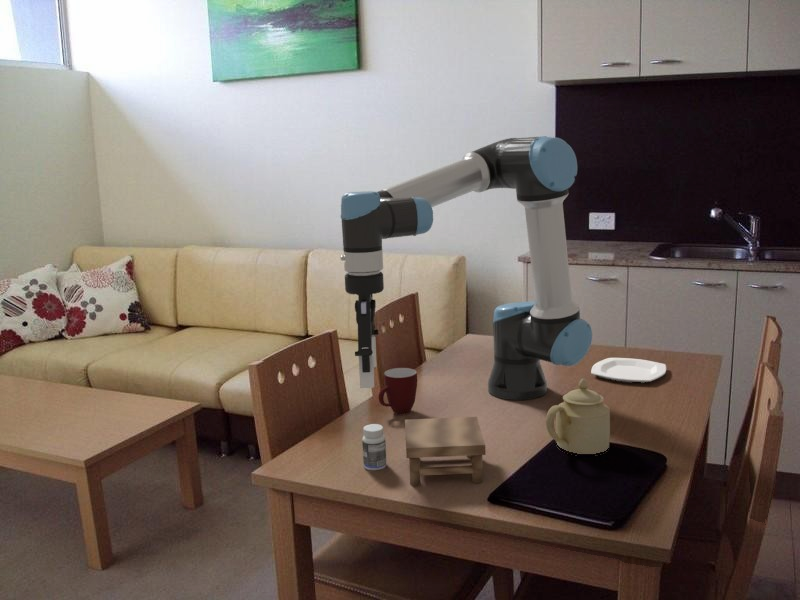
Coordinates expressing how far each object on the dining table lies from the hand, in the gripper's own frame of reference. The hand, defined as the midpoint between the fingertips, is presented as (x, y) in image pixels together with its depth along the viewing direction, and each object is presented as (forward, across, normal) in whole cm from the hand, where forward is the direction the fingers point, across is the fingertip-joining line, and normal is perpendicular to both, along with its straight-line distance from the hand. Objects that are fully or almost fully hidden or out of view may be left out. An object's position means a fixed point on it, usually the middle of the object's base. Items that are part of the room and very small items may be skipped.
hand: (368, 376), depth 153 cm
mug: (+19, -30, +5) cm, 36 cm away
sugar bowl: (+19, -4, +43) cm, 48 cm away
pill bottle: (+19, 0, 0) cm, 19 cm away
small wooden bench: (+19, +3, +14) cm, 24 cm away
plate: (+19, -53, +68) cm, 88 cm away
